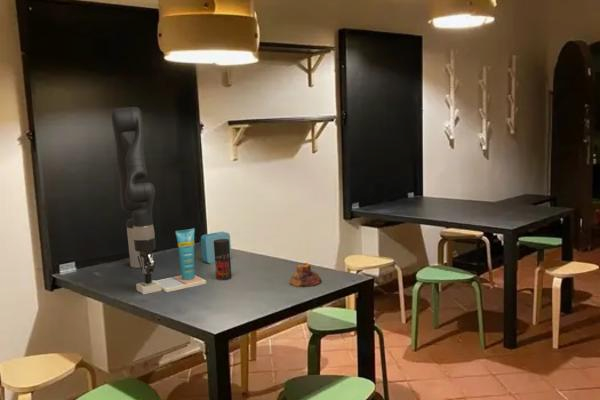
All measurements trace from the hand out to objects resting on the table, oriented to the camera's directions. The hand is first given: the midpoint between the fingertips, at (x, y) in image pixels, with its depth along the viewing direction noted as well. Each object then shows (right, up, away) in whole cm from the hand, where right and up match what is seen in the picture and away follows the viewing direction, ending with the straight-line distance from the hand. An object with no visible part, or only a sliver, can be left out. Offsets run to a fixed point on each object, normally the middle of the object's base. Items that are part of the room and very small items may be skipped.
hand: (148, 282), depth 235 cm
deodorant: (+27, 0, +12) cm, 29 cm away
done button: (0, -2, 0) cm, 2 cm away
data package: (+20, +4, +41) cm, 46 cm away
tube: (+13, 0, +9) cm, 16 cm away
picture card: (+10, -1, +7) cm, 12 cm away
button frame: (0, -3, +1) cm, 3 cm away
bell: (+58, 0, 0) cm, 58 cm away
